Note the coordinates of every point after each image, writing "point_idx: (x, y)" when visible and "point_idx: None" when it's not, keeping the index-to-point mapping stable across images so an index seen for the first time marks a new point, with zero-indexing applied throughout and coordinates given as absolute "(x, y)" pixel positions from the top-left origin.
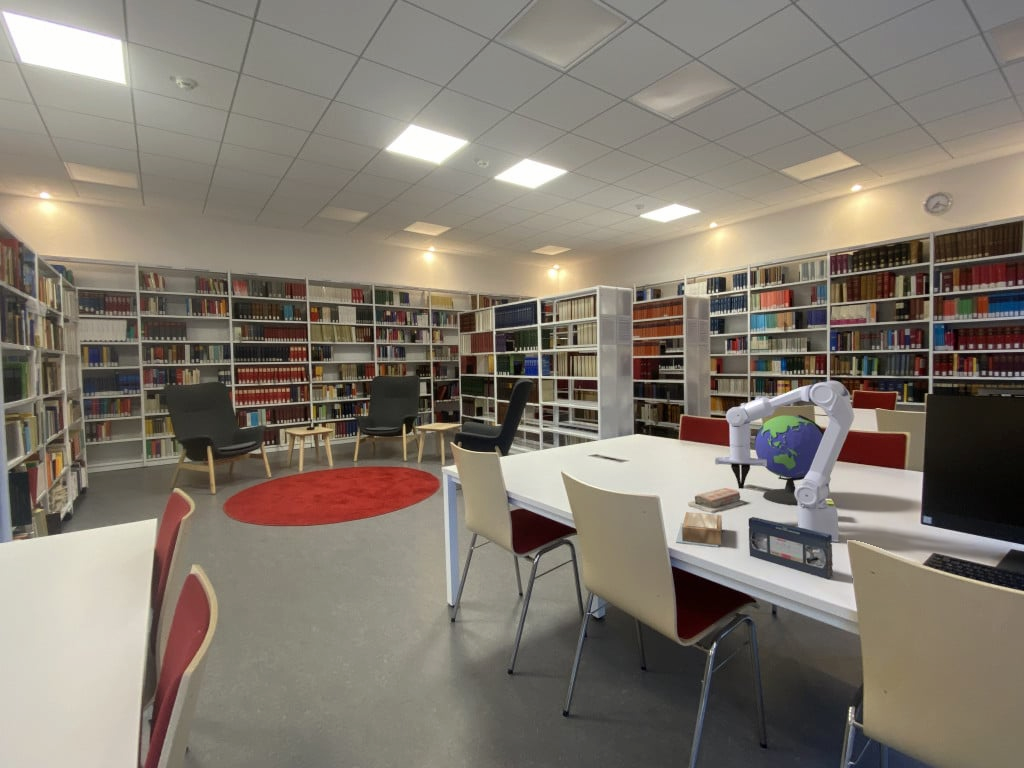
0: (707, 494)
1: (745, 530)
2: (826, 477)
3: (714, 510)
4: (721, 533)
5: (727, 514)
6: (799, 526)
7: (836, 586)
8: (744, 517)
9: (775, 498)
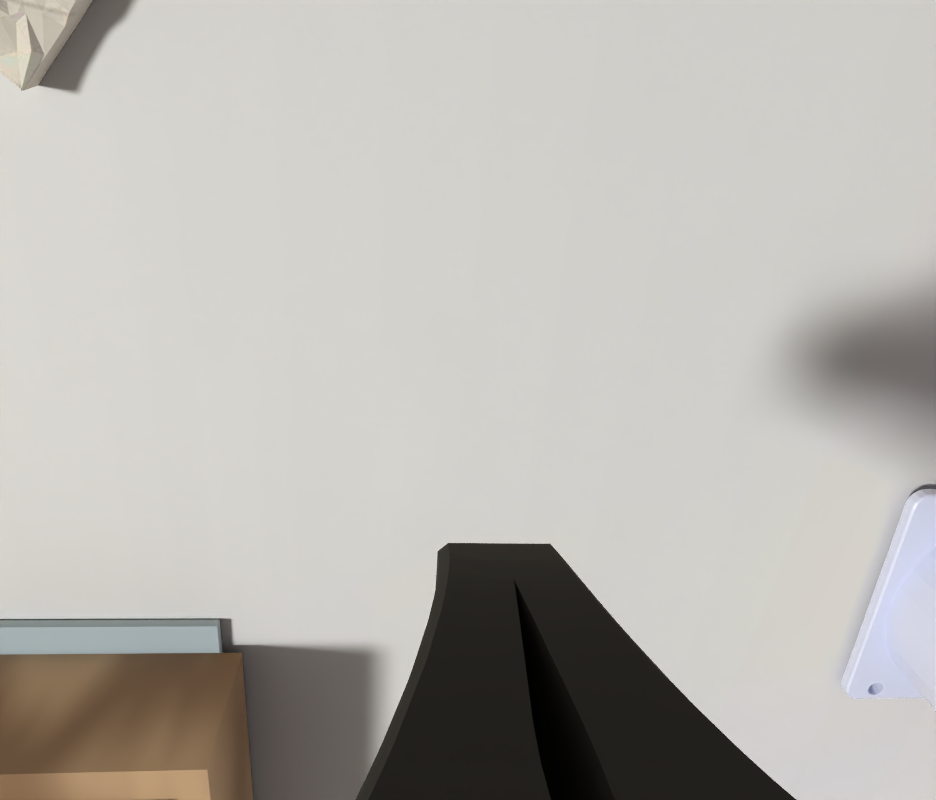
0: None
1: None
2: None
3: (64, 32)
4: (249, 793)
5: (272, 114)
6: (929, 680)
7: None
8: (487, 203)
9: None
